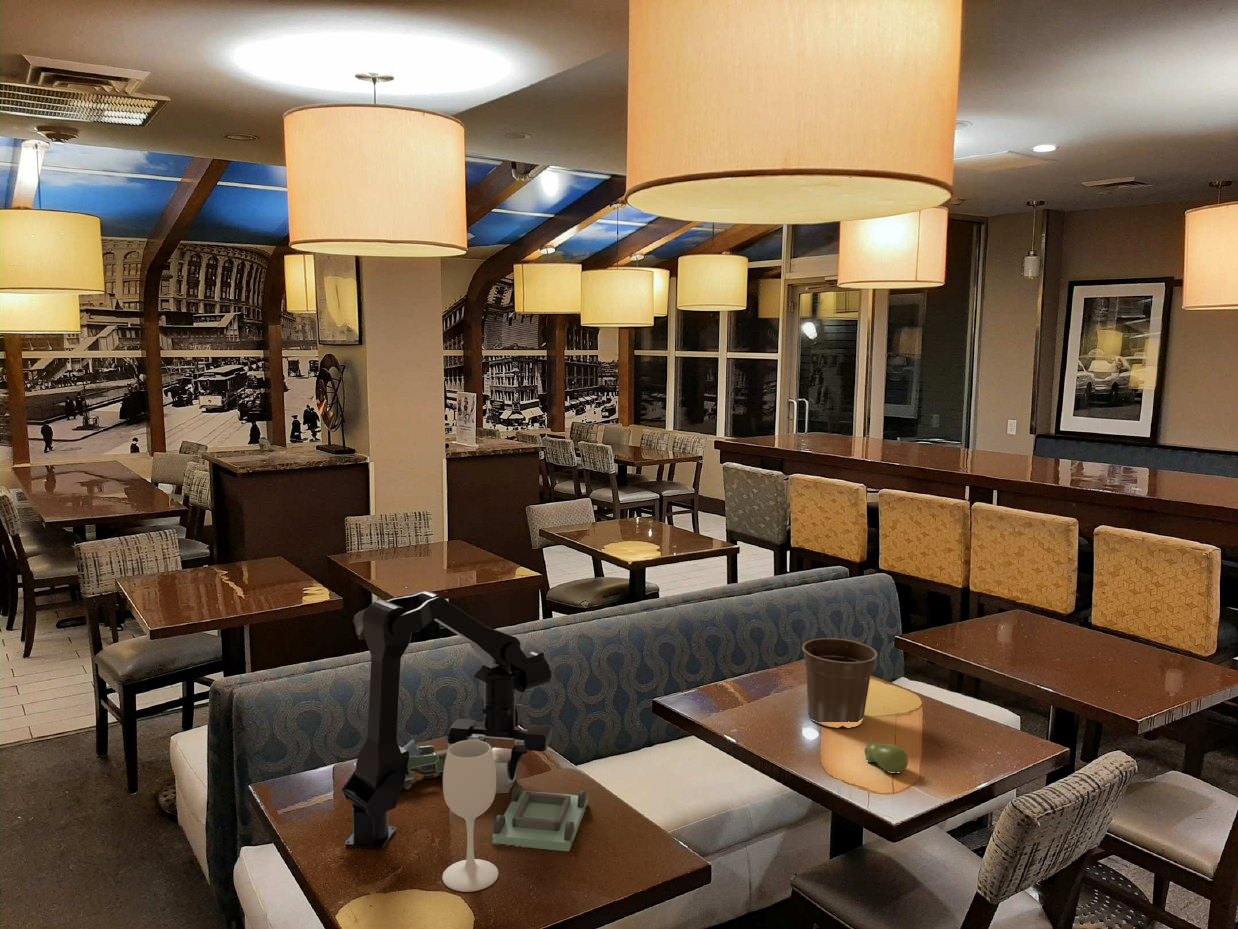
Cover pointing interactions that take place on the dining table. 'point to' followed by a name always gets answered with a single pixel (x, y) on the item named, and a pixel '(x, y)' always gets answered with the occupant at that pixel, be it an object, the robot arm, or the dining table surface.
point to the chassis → (540, 819)
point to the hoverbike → (422, 761)
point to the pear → (887, 756)
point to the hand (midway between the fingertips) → (500, 777)
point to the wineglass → (469, 808)
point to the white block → (503, 769)
